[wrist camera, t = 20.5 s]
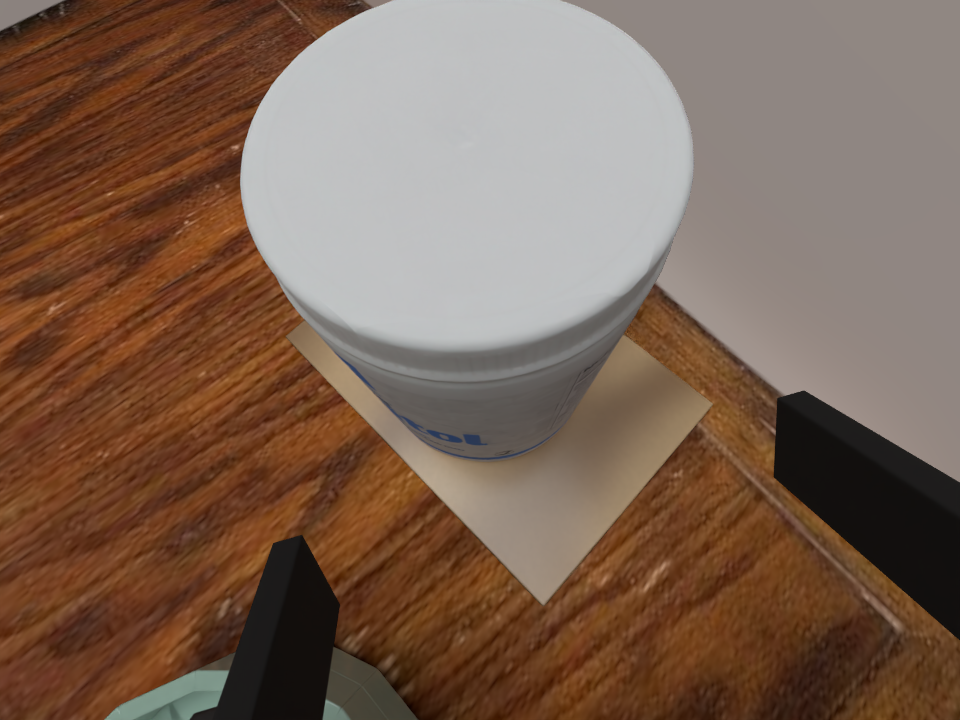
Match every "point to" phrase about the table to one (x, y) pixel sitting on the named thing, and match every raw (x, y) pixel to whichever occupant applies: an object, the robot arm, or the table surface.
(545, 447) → the mat
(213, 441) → the table surface
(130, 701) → the bowl
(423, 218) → the supplement tub
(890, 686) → the table surface
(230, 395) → the table surface
